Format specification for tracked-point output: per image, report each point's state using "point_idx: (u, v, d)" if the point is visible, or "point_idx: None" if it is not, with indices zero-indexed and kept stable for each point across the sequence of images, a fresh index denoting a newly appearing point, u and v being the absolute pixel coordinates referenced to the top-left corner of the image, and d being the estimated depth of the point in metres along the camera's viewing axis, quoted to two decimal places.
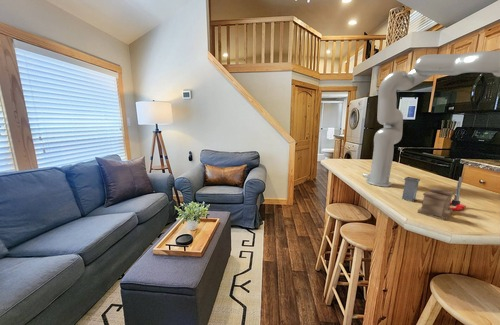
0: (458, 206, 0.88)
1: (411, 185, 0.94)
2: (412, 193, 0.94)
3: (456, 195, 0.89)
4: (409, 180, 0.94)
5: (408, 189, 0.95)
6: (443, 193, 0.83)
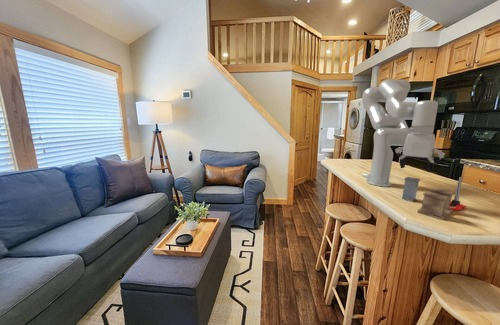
0: (458, 206, 0.88)
1: (411, 185, 0.94)
2: (412, 193, 0.94)
3: (456, 195, 0.89)
4: (409, 180, 0.94)
5: (408, 189, 0.95)
6: (443, 193, 0.83)
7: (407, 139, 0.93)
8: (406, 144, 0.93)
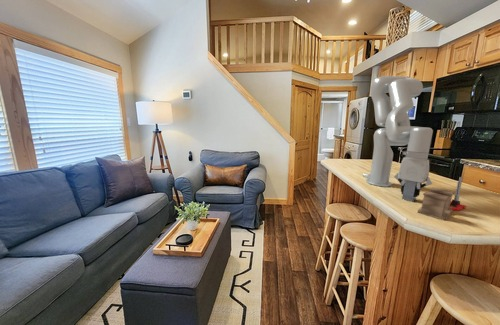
0: (458, 206, 0.88)
1: (411, 185, 0.94)
2: (412, 193, 0.94)
3: (456, 195, 0.89)
4: None
5: (408, 189, 0.95)
6: (443, 193, 0.83)
7: (402, 163, 0.95)
8: (401, 168, 0.95)
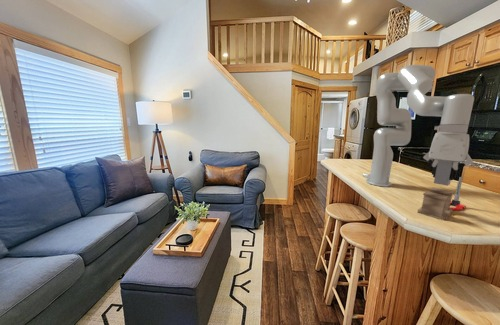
0: (458, 206, 0.88)
1: (446, 165, 0.78)
2: (447, 175, 0.78)
3: (456, 195, 0.89)
4: None
5: (442, 171, 0.79)
6: (443, 193, 0.83)
7: (435, 140, 0.79)
8: (433, 145, 0.80)
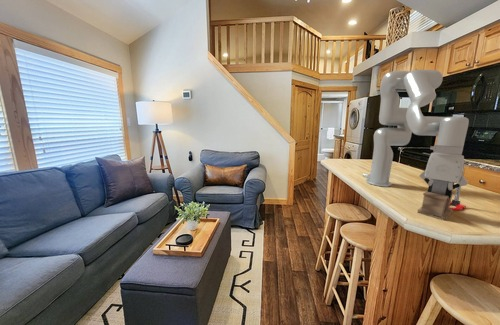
0: (458, 206, 0.88)
1: (441, 185, 0.79)
2: None
3: (456, 195, 0.89)
4: None
5: (438, 190, 0.80)
6: None
7: (430, 160, 0.81)
8: (429, 165, 0.81)
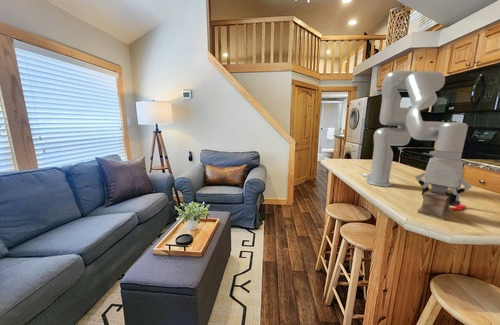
0: (458, 206, 0.88)
1: (439, 192, 0.80)
2: None
3: None
4: (437, 187, 0.80)
5: None
6: None
7: (429, 165, 0.81)
8: (428, 170, 0.82)
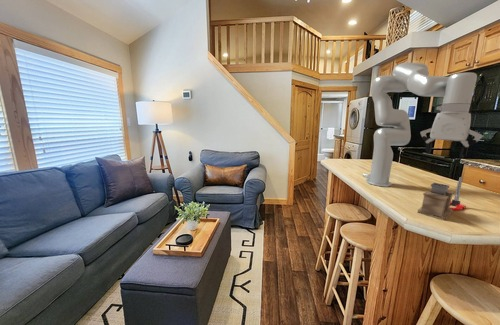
0: (458, 206, 0.88)
1: (439, 193, 0.80)
2: None
3: (456, 195, 0.89)
4: (437, 187, 0.80)
5: None
6: None
7: (436, 120, 0.80)
8: (435, 125, 0.80)
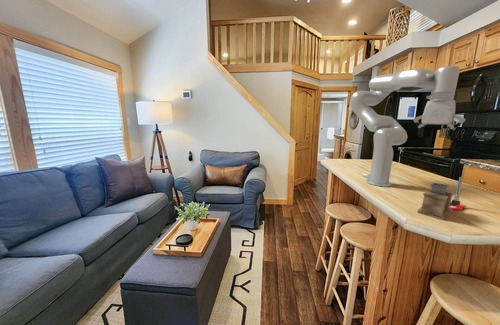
0: (458, 206, 0.88)
1: (439, 193, 0.80)
2: None
3: (456, 195, 0.89)
4: (437, 187, 0.80)
5: None
6: None
7: (427, 107, 0.93)
8: (425, 112, 0.93)
